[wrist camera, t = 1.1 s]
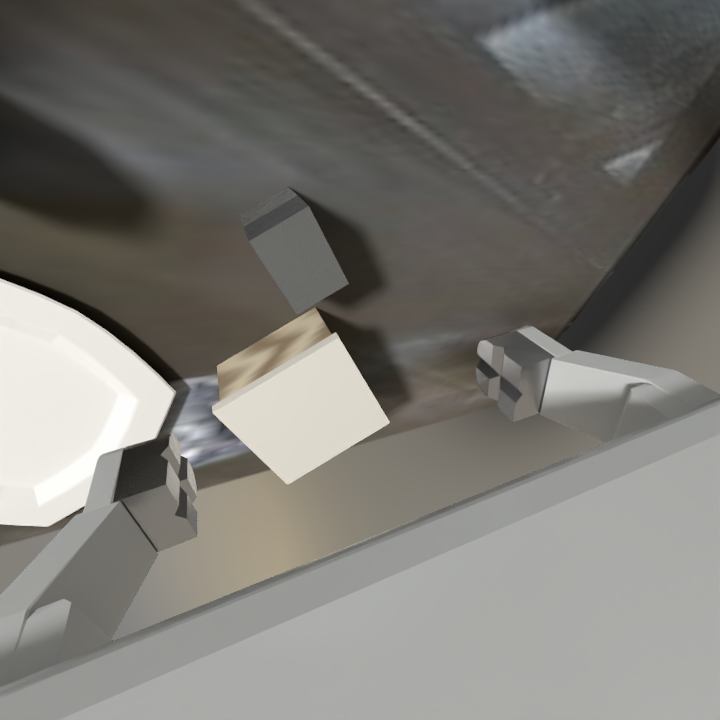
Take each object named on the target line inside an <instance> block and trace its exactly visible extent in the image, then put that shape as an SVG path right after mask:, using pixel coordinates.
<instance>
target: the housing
mask: <svg viewBox="0 0 720 720" xmlns="http://www.w3.org/2000/svg"><path fill="white" fill-rule="evenodd" d="M239 216H240V219H241V221H242V224H243V227H244V229H245V232H246V235H247V237H248V240H249V242H250V244H251V245H252V247H253V248H254V250H255V251H256V253H257V254H258V256H259V257H260V259H261V260H262V262H263V263H264V265H265V266H266V268H267V270H268V271H269V273H270V274H271V276H272V277H273V279H274V280H275V282H276V283H277V285H278V286H279V288H280V289H281V291H282V292H283V294H284V295H285V297H286V298H287V300H288V302H289V303H290V305H291V306H292V308H293V309H294V311H295V312H296V314H299V313H301V312H302V311H304V310H306V309H307V308H309V307H311V306H312V305H314V304H316V303H317V302H319V301H321V300H323V299H324V298H326V297H328V296H329V295H331V294H333V293H334V292H336V291H338V290H339V289H341V288H343V287H344V286H346V285H348V284H349V283H348V281H347V279H346V277H345V275H344V273H343V271H342V269H341V267H340V265H339V263H338V262H337V260H336V258H335V256H334V254H333V252H332V250H331V248H330V246H329V244H328V242H327V240H326V238H325V236H324V234H323V232H322V231H321V229H320V227H319V225H318V223H317V221H316V219H315V217H314V215H313V213H312V211H311V209H310V207H309V206H308V205H307V204H306V203H305V202H304V201H303V200H302V199H301V198H300V197H299V196H298V195H297V194H296V193H294V192H293V191H292V190H291V189H290V188H289V187H287V188H285V189H284V190H282V191H280V192H278V193H277V194H275V195H273V196H272V197H270V198H268V199H267V200H265V201H263V202H261V203H260V204H258V205H256V206H255V207H253V208H251V209H250V210H248V211H246V212H244V213H243V214H241V215H239Z"/></svg>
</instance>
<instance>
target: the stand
mask: <svg viewBox="0 0 720 720" xmlns="http://www.w3.org/2000/svg"><path fill="white" fill-rule="evenodd" d="M217 372H218V384H219V396H220V402H218V403H217V404H215V405H213V406H212V411H213V414H214V415H215V416H216V417H217V418H218V419H219V420H220V421H221V422H223V423H224V424H225V425H226V426H227V427H228V428H229V429H230V430H231V431H232V432H233V433H234V434H235V435H236V436H237V437H238V438H239V439H240V440H241V441H242V442H243V443H244V444H245V445H247V446H248V447H249V448H250V449H251V450H252V451H253V452H254V453H255V454H256V455H257V456H258V457H259V458H260V459H261V460H262V461H263V462H264V463H265V464H266V465H267V466H268V467H269V468H271V469H272V470H273V471H274V472H275V473H276V474H277V475H278V476H279V477H280V478H281V479H282V480H283V481H284V482H285V483H286V484H290V483H291V482H293V481H295V480H296V479H298V478H300V477H301V476H303V475H305V474H306V473H308V472H309V471H311V470H313V469H314V468H316V467H318V466H319V465H321V464H323V463H324V462H326V461H328V460H329V459H331V458H332V457H334V456H336V455H337V454H339V453H341V452H343V451H344V450H346V449H348V448H349V447H351V446H352V445H354V444H356V443H357V442H359V441H361V440H362V439H364V438H366V437H367V436H369V435H371V434H372V433H374V432H376V431H377V430H379V429H381V428H382V427H384V426H386V425H387V424H389V423H390V422H389V420H388V418H387V417H386V415H385V413H384V412H383V410H382V408H381V407H380V405H379V403H378V402H377V400H376V398H375V397H374V395H373V393H372V392H371V390H370V388H369V387H368V385H367V383H366V382H365V380H364V378H363V377H362V375H361V373H360V372H359V370H358V368H357V367H356V365H355V363H354V362H353V360H352V358H351V357H350V355H349V353H348V352H347V350H346V348H345V347H344V345H343V343H342V341H341V340H340V338H339V336H338V335H337V333H336V332H335V333H333V334H331V332H330V331H329V329H328V327H327V326H326V324H325V323H324V321H323V319H322V318H321V316H320V314H319V313H318V311H317V309H316V308H313V309H311V310H310V311H308V312H306V313H305V314H303V315H301V316H300V317H298V318H296V319H295V320H293V321H291V322H290V323H288V324H286V325H284V326H283V327H281V328H279V329H278V330H276V331H274V332H273V333H271V334H269V335H268V336H266V337H264V338H263V339H261V340H259V341H258V342H256V343H254V344H253V345H251V346H249V347H248V348H246V349H244V350H243V351H241V352H239V353H238V354H236V355H234V356H233V357H231V358H229V359H227V360H226V361H224V362H222V363H221V364H219V365H217Z"/></svg>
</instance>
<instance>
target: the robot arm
mask: <svg viewBox="0 0 720 720" xmlns="http://www.w3.org/2000/svg"><path fill="white" fill-rule="evenodd" d="M477 354H478V355H479V357H480V358H481V360H480V362H479V363H478V365H477V366H476V379H477V382H478V386H479V387H480V389H481V391H482V392H483V393H484V394H485V395H486V396H487V397H488V398H491V399H494V400H497V402H498V408H499V409H500V410H501V411H502V412H503V413H504V414H505V415H506V416H508V417H509V418H510V419H511V420H512V421H513V422H514V421H517V420H520V419H523V418H526V417H529V416H532V415H535V414H538V413H540V415H542V416H545V417H547V418H549V419H552V420H554V421H556V422H559V423H561V424H564V425H566V426H568V427H571V428H573V429H575V430H578V431H580V432H582V433H584V434H587V435H589V436H591V437H594V438H596V439H599V440H601V441H603V442H605V443H604V444H602V445H599V446H596V447H594V448H591V449H589V450H587V451H584V452H582V453H579V454H577V455H574V456H572V457H569V458H567V459H564V460H562V461H559V462H557V463H554V464H552V465H549V466H547V467H544V468H542V469H539V470H537V471H534V472H532V473H529V474H527V475H525V476H522V477H520V478H517V479H515V480H512V481H510V482H507V483H505V484H502V485H500V486H497V487H495V488H493V489H490V490H487V491H485V492H482V493H480V494H477V495H475V496H472V497H470V498H467V499H465V500H462V501H460V502H458V503H455V504H453V505H450V506H448V507H445V508H443V509H440V510H438V511H435V512H433V513H430V514H428V515H425V516H423V517H420V518H418V519H415V520H413V521H410V522H408V523H405V524H403V525H400V526H398V527H395V528H393V529H390V530H388V531H386V532H383V533H381V534H378V535H376V536H373V537H371V538H368V539H366V540H363V541H361V542H358V543H356V544H353V545H351V546H348V547H346V548H343V549H341V550H338V551H336V552H333V553H331V554H328V555H326V556H324V557H321V558H318V559H316V560H313V561H311V562H308V563H306V564H304V565H301V566H299V567H296V568H294V569H291V570H289V571H286V572H284V573H281V574H279V575H276V576H274V577H271V578H269V579H266V580H264V581H262V582H259V583H256V584H254V585H251V586H249V587H246V588H244V589H242V590H239V591H236V592H234V593H231V594H229V595H227V596H224V597H222V598H219V599H217V600H214V601H212V602H209V603H207V604H205V605H202V606H199V607H197V608H194V609H192V610H189V611H187V612H184V613H182V614H179V615H177V616H174V617H172V618H170V619H167V620H164V621H162V622H160V623H157V624H155V625H152V626H150V627H147V628H145V629H142V630H140V631H137V632H135V633H132V634H130V635H127V636H125V637H122V638H120V639H117V640H115V641H113V640H112V637H113V635H114V633H115V632H116V630H117V628H118V626H119V624H120V623H121V621H122V619H123V617H124V615H125V613H126V612H127V610H128V608H129V606H130V605H131V603H132V601H133V599H134V597H135V595H136V593H137V592H138V590H139V588H140V586H141V585H142V583H143V581H144V579H145V577H146V576H147V574H148V572H149V570H150V568H151V566H152V565H153V563H154V561H155V559H156V557H157V556H158V553H157V552H159V551H162V550H164V549H167V548H170V547H172V546H175V545H177V544H180V543H182V542H185V541H187V540H190V539H192V538H195V537H197V511H196V509H195V508H194V506H193V504H192V503H193V501H194V500H195V498H196V497H197V488H196V482H195V476H194V473H193V470H192V467H191V465H190V463H189V461H188V459H187V458H184V457H182V456H180V455H181V445H180V444H179V442H178V440H177V438H176V437H175V435H173V434H170V435H166V436H162V437H159V438H155V439H152V440H148V441H145V442H141V443H137V444H134V445H130V446H127V447H125V448H120V449H117V450H114V451H110V452H107V453H103V454H102V455H101V456H100V457H99V458H98V459H97V463H96V467H95V471H94V474H93V478H92V482H91V485H90V489H89V493H88V496H87V500H86V504H85V507H84V511H83V513H81V514H78V515H75V516H74V517H73V519H72V520H71V521H70V522H69V523H68V524H67V525H66V526H65V527H64V528H63V529H62V530H61V531H60V532H59V533H58V535H57V536H56V537H55V538H54V539H53V540H52V541H51V542H50V543H49V544H48V545H47V546H46V547H45V549H44V550H43V551H42V552H41V553H40V554H39V555H38V556H37V557H36V558H35V559H34V560H33V561H32V562H31V564H30V565H29V566H28V567H27V568H26V569H25V570H24V571H23V572H22V573H21V574H20V575H19V576H18V577H17V578H16V579H15V580H14V582H13V583H12V584H11V585H10V586H9V587H8V588H7V589H6V590H5V591H4V592H3V593H2V594H1V596H0V720H720V394H718V393H716V392H715V391H713V390H711V389H709V388H707V387H705V386H703V385H702V384H700V383H698V382H696V381H694V380H692V379H691V378H689V377H687V376H685V375H683V374H681V373H680V372H678V371H675V370H670V369H665V368H661V367H656V366H651V365H646V364H641V363H637V362H631V361H627V360H622V359H617V358H613V357H607V356H603V355H598V354H593V353H588V352H584V351H579V350H576V351H573V352H572V351H571V350H569V349H567V348H566V347H564V346H563V345H561V344H560V343H558V342H557V341H555V340H553V339H552V338H550V337H549V336H547V335H545V334H544V333H542V332H541V331H539V330H538V329H536V328H534V327H533V326H524V327H521V328H518V329H515V330H512V331H511V332H507V333H504V334H501V335H498V336H494V337H491V338H488V339H485V340H481V341H480V343H479V345H478V350H477Z"/></svg>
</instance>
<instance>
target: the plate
mask: <svg viewBox="0 0 720 720" xmlns="http://www.w3.org/2000/svg"><path fill="white" fill-rule="evenodd" d="M175 394H176V391H175V390H174V389H173V388H172V387H171V386H170V385H169V384H168V383H167V382H166V381H165V380H164V379H163V378H162V377H161V376H160V375H159V374H158V373H157V372H156V371H155V370H154V369H152V368H151V367H150V366H149V365H148V364H147V363H146V362H145V361H144V360H143V359H141V358H140V357H139V356H138V355H137V354H136V353H135V352H134V351H132V350H131V349H130V348H129V347H127V346H126V345H125V344H124V343H122V342H121V341H120V340H119V339H117V338H116V337H115V336H113V335H112V334H111V333H110V332H108V331H107V330H106V329H104V328H102V327H101V326H99V325H98V324H96V323H95V322H93V321H92V320H90V319H89V318H87V317H86V316H84V315H83V314H81V313H80V312H78V311H76V310H74V309H72V308H70V307H68V306H66V305H63V304H61V303H59V302H57V301H55V300H53V299H51V298H49V297H46V296H44V295H42V294H40V293H37V292H35V291H32V290H29V289H27V288H24V287H22V286H19V285H16V284H14V283H11V282H9V281H6V280H3V279H1V278H0V524H7V525H23V526H47V527H48V526H50V525H52V524H54V523H55V522H57V521H59V520H61V519H63V518H64V517H66V516H68V515H70V514H72V513H73V512H75V511H77V510H79V509H80V508H82V507H84V506H85V504H86V500H87V496H88V493H89V489H90V485H91V482H92V478H93V474H94V471H95V467H96V463H97V459H98V458H99V457H100V456H101V455H102V454H103V453H107V452H110V451H114V450H117V449H120V448H125V447H127V446H130V445H134V444H137V443H141V442H145V441H148V440H152V439H155V438H156V437H157V436H158V434H159V431H160V429H161V427H162V425H163V423H164V420H165V418H166V416H167V414H168V411H169V409H170V407H171V404H172V402H173V399H174V397H175Z"/></svg>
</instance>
